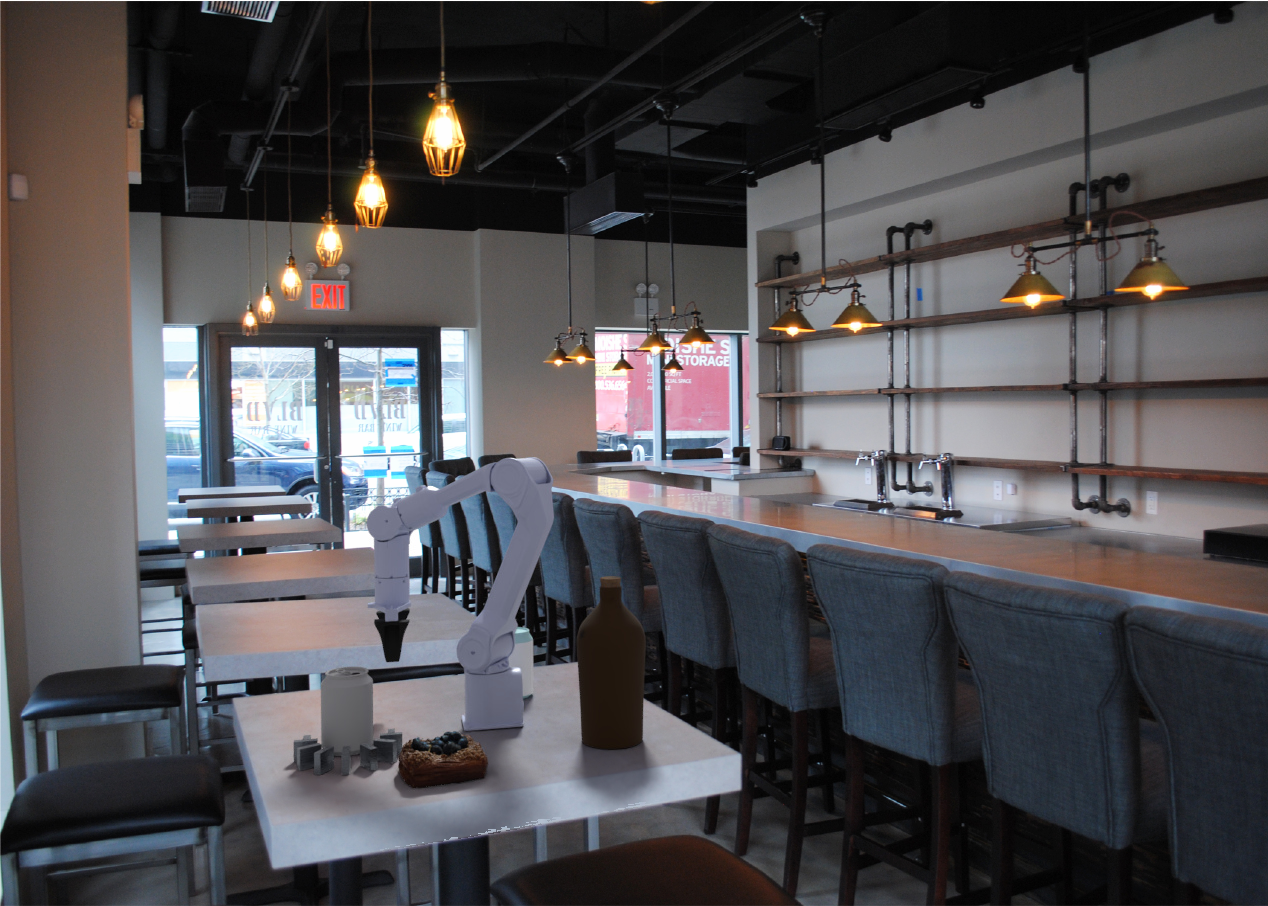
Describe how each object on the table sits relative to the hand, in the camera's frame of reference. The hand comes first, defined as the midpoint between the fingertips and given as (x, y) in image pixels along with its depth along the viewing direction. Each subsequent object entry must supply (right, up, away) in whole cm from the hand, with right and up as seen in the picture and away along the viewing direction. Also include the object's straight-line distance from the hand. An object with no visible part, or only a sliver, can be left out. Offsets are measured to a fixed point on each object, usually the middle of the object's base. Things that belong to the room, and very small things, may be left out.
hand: (393, 656), depth 162 cm
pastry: (+14, -11, -29) cm, 34 cm away
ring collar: (0, -10, -24) cm, 26 cm away
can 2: (+19, -10, +12) cm, 24 cm away
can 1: (-2, -10, -18) cm, 21 cm away
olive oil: (+37, -10, -15) cm, 41 cm away
